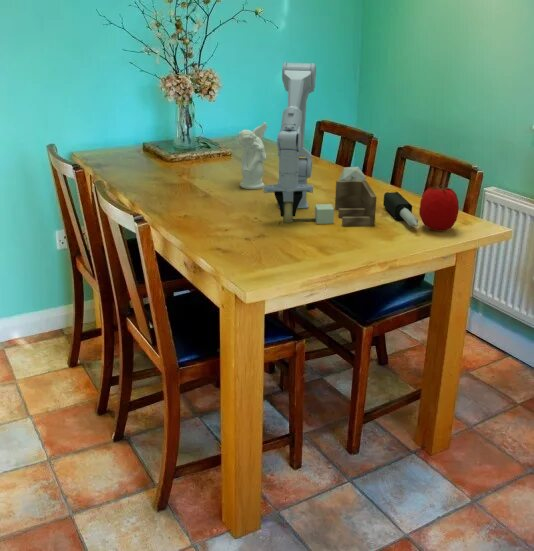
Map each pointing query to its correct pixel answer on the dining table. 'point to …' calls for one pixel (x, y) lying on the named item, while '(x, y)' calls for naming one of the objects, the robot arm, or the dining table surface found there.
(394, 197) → the black and grey rod
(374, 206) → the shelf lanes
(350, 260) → the dining table surface
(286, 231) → the dining table surface
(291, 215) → the pull block
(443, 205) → the red apple
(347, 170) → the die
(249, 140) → the cherub figurine
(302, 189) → the robot arm
